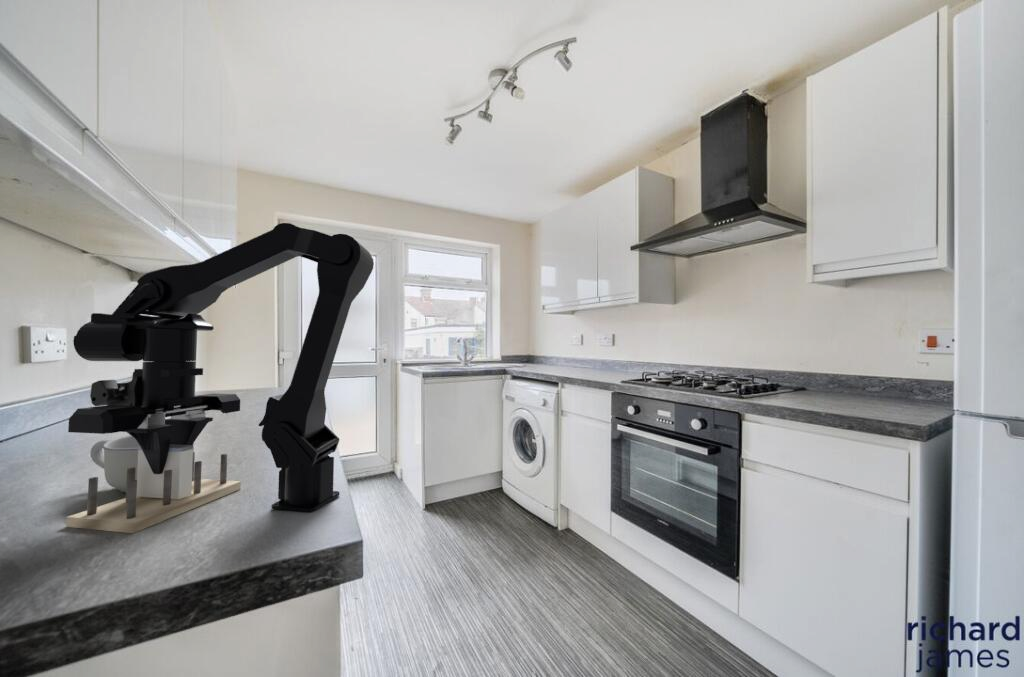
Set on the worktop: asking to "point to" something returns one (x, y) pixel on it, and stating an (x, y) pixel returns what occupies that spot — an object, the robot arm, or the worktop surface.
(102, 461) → the teacup
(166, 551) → the worktop surface
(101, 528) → the dish rack
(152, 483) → the white square block
